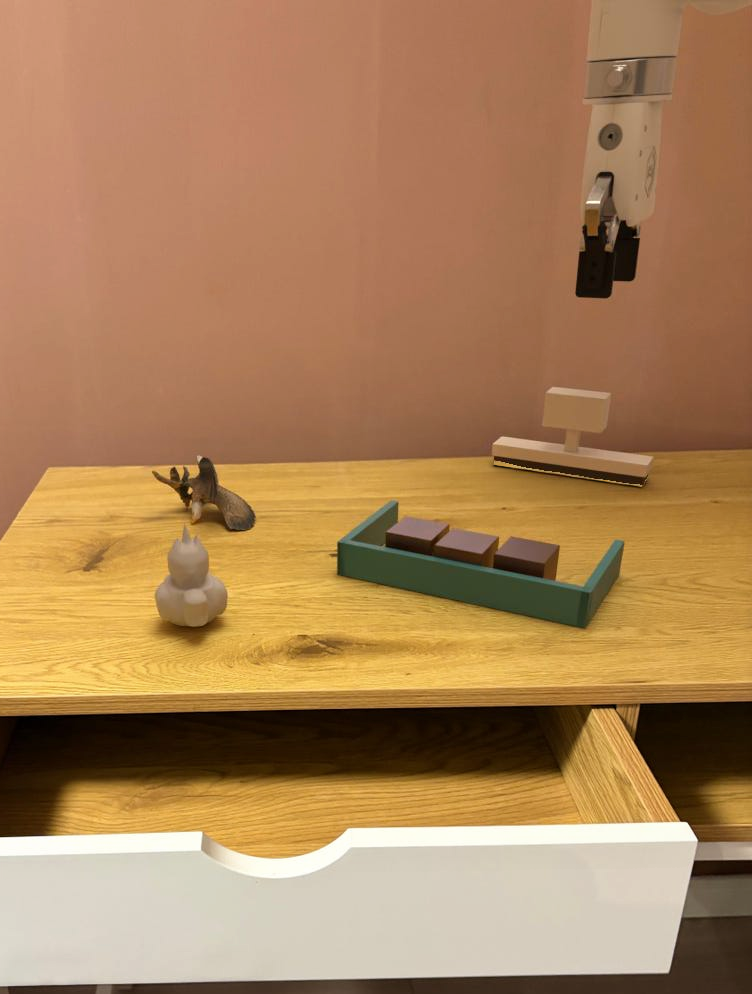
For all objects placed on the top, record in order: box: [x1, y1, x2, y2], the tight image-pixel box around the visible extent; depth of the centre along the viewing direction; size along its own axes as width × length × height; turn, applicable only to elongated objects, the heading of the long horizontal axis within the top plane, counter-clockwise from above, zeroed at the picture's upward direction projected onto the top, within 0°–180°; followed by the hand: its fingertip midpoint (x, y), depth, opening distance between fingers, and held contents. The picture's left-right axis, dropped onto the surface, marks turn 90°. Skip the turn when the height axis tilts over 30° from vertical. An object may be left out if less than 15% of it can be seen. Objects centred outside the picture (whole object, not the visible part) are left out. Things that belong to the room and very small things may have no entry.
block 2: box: [434, 527, 500, 568], centre depth 79 cm, size 4×4×4 cm
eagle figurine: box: [151, 454, 257, 531], centre depth 93 cm, size 8×7×9 cm
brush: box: [491, 386, 655, 485], centre depth 101 cm, size 16×3×8 cm, turn 60°
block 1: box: [384, 515, 451, 557], centre depth 81 cm, size 4×4×4 cm
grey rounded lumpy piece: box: [154, 523, 229, 628], centre depth 73 cm, size 5×7×8 cm
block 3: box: [493, 535, 561, 581], centre depth 77 cm, size 4×4×4 cm
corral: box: [336, 500, 626, 629], centre depth 81 cm, size 21×11×3 cm, turn 60°
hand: (605, 288), depth 94 cm, fingers open, 9 cm apart
